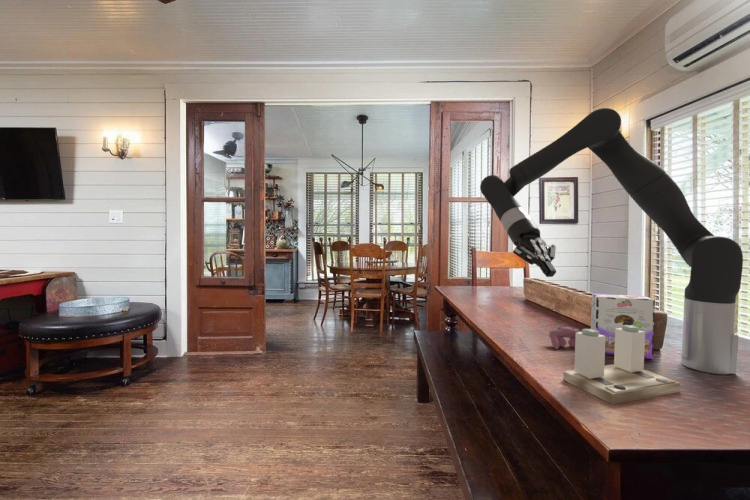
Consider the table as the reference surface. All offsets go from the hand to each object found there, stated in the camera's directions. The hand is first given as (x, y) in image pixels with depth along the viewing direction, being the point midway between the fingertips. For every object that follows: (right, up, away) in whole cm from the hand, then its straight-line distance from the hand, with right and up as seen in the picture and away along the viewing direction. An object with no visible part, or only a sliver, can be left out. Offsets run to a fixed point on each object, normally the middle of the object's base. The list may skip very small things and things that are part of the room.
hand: (551, 274), depth 87 cm
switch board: (+10, -24, -10) cm, 28 cm away
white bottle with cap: (+3, -21, -10) cm, 24 cm away
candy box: (+25, -23, +11) cm, 36 cm away
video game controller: (+13, -23, +16) cm, 31 cm away
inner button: (+15, -21, -6) cm, 27 cm away
